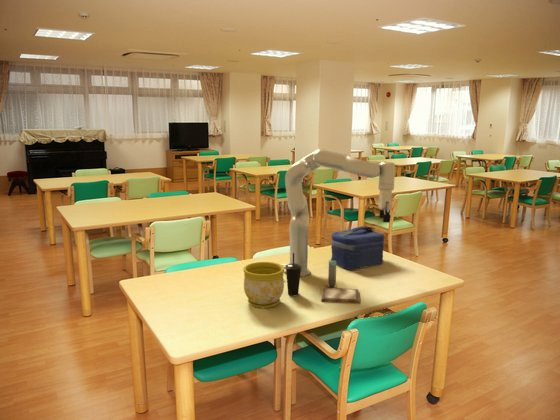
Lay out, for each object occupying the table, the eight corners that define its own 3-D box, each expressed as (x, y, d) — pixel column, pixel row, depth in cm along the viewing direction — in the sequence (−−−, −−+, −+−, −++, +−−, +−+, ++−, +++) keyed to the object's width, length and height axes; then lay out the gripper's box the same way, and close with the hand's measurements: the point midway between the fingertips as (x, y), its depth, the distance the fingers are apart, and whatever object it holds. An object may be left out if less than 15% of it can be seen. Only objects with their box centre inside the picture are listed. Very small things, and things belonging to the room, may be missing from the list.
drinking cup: (289, 298, 202) (290, 256, 198) (282, 292, 208) (282, 252, 204) (304, 295, 205) (304, 254, 201) (296, 289, 212) (296, 250, 208)
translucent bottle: (328, 287, 215) (328, 262, 212) (328, 285, 218) (328, 259, 216) (335, 288, 214) (336, 262, 212) (335, 285, 218) (336, 260, 215)
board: (321, 301, 198) (321, 298, 198) (322, 289, 212) (322, 286, 212) (359, 303, 196) (359, 300, 196) (358, 291, 210) (358, 288, 210)
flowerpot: (269, 314, 184) (269, 277, 181) (235, 305, 194) (235, 270, 190) (291, 300, 199) (291, 266, 196) (258, 292, 209) (258, 259, 205)
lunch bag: (366, 253, 271) (367, 221, 267) (391, 262, 253) (393, 228, 249) (326, 261, 255) (326, 227, 251) (350, 272, 237) (351, 235, 233)
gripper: (375, 184, 229) (374, 216, 232) (381, 189, 212) (380, 223, 215) (390, 184, 229) (388, 216, 232) (397, 189, 212) (395, 224, 215)
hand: (384, 220), depth 224 cm, fingers open, 9 cm apart
